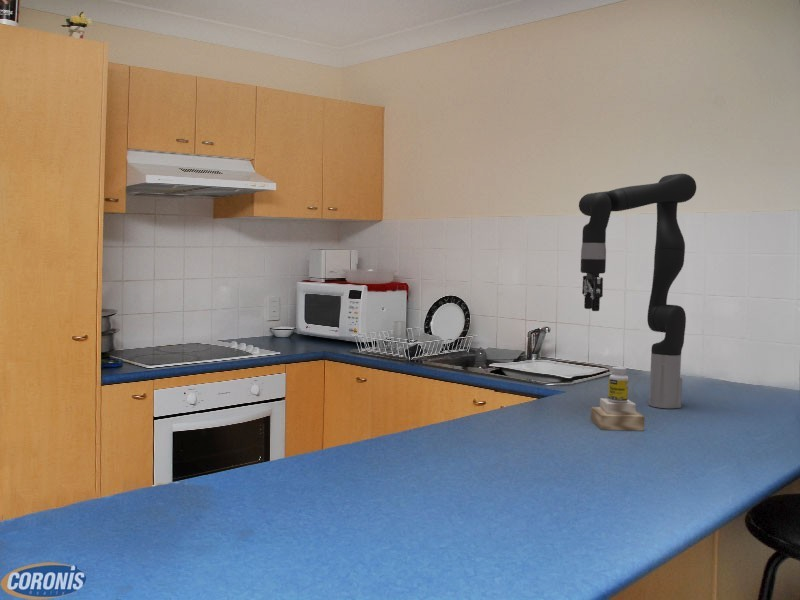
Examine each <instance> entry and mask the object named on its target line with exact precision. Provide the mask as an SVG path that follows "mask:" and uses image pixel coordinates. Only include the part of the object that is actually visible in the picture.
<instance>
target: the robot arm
mask: <svg viewBox="0 0 800 600" xmlns="http://www.w3.org/2000/svg"><path fill="white" fill-rule="evenodd" d="M696 192H697V182H696V181H695V179H694V178H693V176H691V175H690V174H687V173H674V174H667V175H664V176H662V177H661V178H660V179H659V180H658V182H656V183H649V184H648V183H647V184H640V185H639V184H638V185H630V186H623V187H620V188H615V189H611V190H607V191H606V190H605V191H598V192H591V193H587V194H585V195H583V196H582V197H581V199H580V200H579V202H578V209H579V211H580V212H581V213H582V214H583V215H584V216H586V217H589V221H588V223H586V224H585V225H584V226H583V227H582V240H581V241H582V242H581V243H582V244H581V250H580V273H582V274H585V275H583V276H582V292H581V293H582V295H583V297H584V309H586V310H591V311H592V312H599V311H600V305H601V301H600V300H601V299H602V297H604V295H603V294H604V292H603V287H604V283H603V282H604V278H603V277H602V276H601V277H600V274H605V273H606V268H607V267H606V262H607V246H606V243H607V242H606V237H607V228H608V226H609V225H608V224H609V220H610V218H611V213H612V212H622V211H626V210H632V209H636V208H641V207H644V206H648V205H653V204H656V232H655V233H656V235H655V243H654V245H655V246H654V258H653V261H654V262H653V272H652V273H653V274H652V284H651V293H650V297H649V303H648V308H647V309H648V310H647V325H648V328H649V329H650V330H651V331H653V332H656V333H662V334H663V333H664V339H663V340H661V341H659V342H655V343H653V344H652V345H651V349H650V351H651V354H650V355H651V357H650V375H649V396H648V405H649V406H651V407H652V408H653V407H654V408H660V409H682V395H683V393H682V392H683V379H682V378H681V367H682V366H681V364H682V350H683V347H684V344H685V334H686V323H687V316H686V315H687V314H686V311H685V309H684V308H683V307H682V306H681V305H676V304H668V303H667V302H668V294H669V291H670V288H671V286H672V284H673V283H674V282H675V280H676V278H677V277H678V276H679V274H680V272H681V271H682V269H683V267H684V263H685V255H686V254H685V253H686V243H685V239H684V236H683V233H682V231H681V229H680V226H679V223H678V215H677V213H678V204H681V203H686V202H688V201H689V200H691V199H692V198H694V196H695V195H696Z"/></svg>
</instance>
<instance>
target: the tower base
mask: <svg viewBox="0 0 800 600" xmlns="http://www.w3.org/2000/svg"><path fill="white" fill-rule="evenodd" d="M636 405H637V404H636V403H635V402H633V401H631V400H629V399H628V400H627V402H625V403H616V402H611V401H609V400H608V398H607V397H606V398H602V397H601V398H599V406H591V407H590V421H591V422H592V424H594V425H595V426H596V427H598V428H599V429H600V430H602V431H643V432H644V431H645V422H646V421H645V419H646V418H645V416H644V415H643V414H642V413H641V412H639V411H637V410H636V408H637V406H636Z"/></svg>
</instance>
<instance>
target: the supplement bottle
mask: <svg viewBox="0 0 800 600" xmlns="http://www.w3.org/2000/svg"><path fill="white" fill-rule="evenodd" d="M627 370H628V369H627V367H625V366H612V367H611V371H612V372H611V374H610V375H609V379H608V393H607V394H608V395H607V397H608V398H607V399H608V400H609V401H611V402H616V403H625V402H627V400H629V398H628V396H629V376H628V375H626V374H627V372H628V371H627Z"/></svg>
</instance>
